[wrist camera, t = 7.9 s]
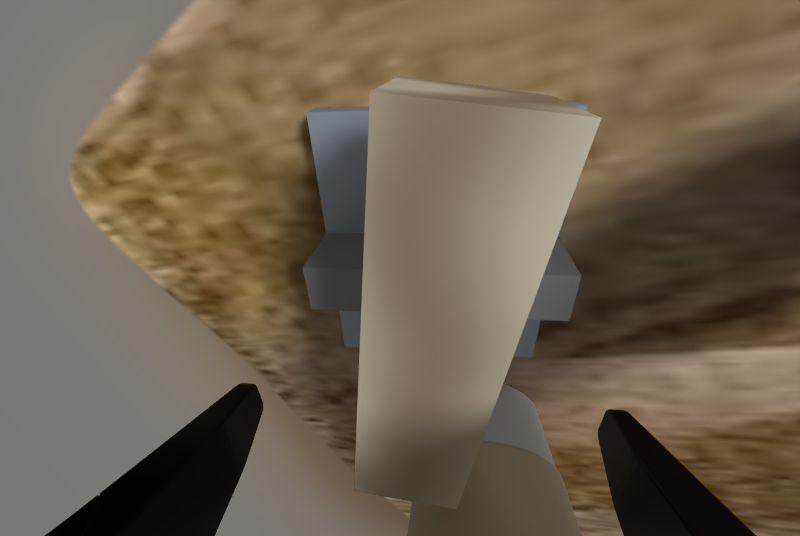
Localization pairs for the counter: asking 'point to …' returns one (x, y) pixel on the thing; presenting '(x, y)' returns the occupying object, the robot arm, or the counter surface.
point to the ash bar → (452, 268)
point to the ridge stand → (345, 222)
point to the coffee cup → (506, 483)
